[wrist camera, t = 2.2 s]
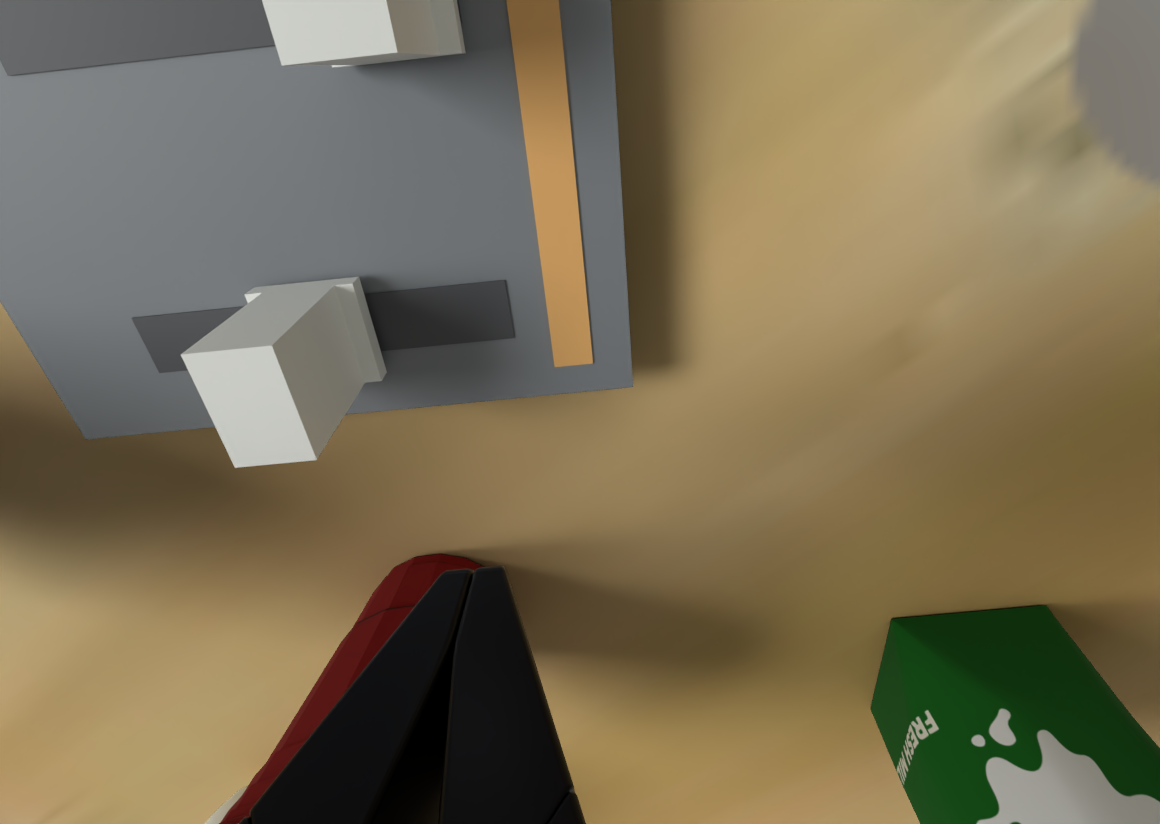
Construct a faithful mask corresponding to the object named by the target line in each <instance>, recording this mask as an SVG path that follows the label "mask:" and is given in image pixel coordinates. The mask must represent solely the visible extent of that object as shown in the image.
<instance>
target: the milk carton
mask: <svg viewBox="0 0 1160 824" xmlns="http://www.w3.org/2000/svg"><path fill="white" fill-rule="evenodd" d="M871 711H872V714H873V716H874V718H875V721H876V723H877V725H878V728H879V730H880V733H881V735H882V737H883V740H884V742H885V745H886V747H887V749H888V752H889V754H890V756H891V759H892V761H893V764H894V766H895V768H896V771H897V773H898V776H899V778H900V780H901V783H902V785H903V787H904V789H905V791H906V794H907V796H908V798H909V800H910V802H911V804H912V807H913V809H914V811H915V813H916V815H917V817H918V819H919V822H920V824H1160V748H1159V747H1158V746H1157V745H1156V743H1155V742H1154V741H1153V740H1152V739H1151V738H1150V736H1149V735H1148V734H1147V733H1146V732H1145V731H1144V729H1143V728H1142V727H1141V726H1140V725H1139V724H1138V723H1137V721H1136V720H1135V719H1134V718H1133V717H1132V715H1131V714H1130V713H1129V712H1128V710H1127V709H1126V708H1125V707H1124V705H1123V704H1122V703H1121V701H1120V700H1119V699H1118V698H1117V696H1116V695H1115V694H1114V692H1113V691H1112V690H1111V689H1110V687H1109V686H1108V685H1107V683H1106V682H1105V681H1104V680H1103V678H1102V677H1101V676H1100V674H1099V673H1098V672H1097V671H1096V669H1095V668H1094V667H1093V665H1092V664H1091V663H1090V662H1089V660H1088V659H1087V658H1086V656H1085V655H1084V654H1083V653H1082V651H1081V650H1080V649H1079V647H1078V646H1077V645H1076V644H1075V642H1074V641H1073V640H1072V638H1071V637H1070V636H1069V635H1068V633H1067V632H1066V631H1065V629H1064V628H1063V627H1062V626H1061V624H1060V623H1059V622H1058V620H1057V619H1056V618H1055V617H1054V615H1053V614H1052V613H1051V611H1050V610H1049V609H1048V608H1047V606H1032V607H1021V608H1010V609H998V610H987V611H976V612H964V613H953V614H942V615H931V616H919V617H908V618H897V619H891V623H890V627H889V632H888V636H887V640H886V644H885V649H884V653H883V657H882V662H881V666H880V670H879V674H878V679H877V683H876V687H875V691H874V696H873V700H872V704H871Z"/></svg>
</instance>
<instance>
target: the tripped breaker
mask: <svg viewBox="0 0 1160 824" xmlns="http://www.w3.org/2000/svg"><path fill="white" fill-rule="evenodd" d="M244 295H245V298H246V300H247V303H248V304H247V305H245V306H244V307H243V308H241V309H240V310H239V311H237V312H236V313H235V314H233V315H232V316H231V317H229V318H228V319H227V320H226V321H224V322H223V323H222V324H220V325H219V326H218V327H216V328H215V329H214V330H212V331H211V332H210V333H208V334H207V335H206V336H204V337H203V338H202V339H200V340H199V341H198V342H196V343H195V344H194V345H193V346H191V347H190V348H189V349H187V350H186V351H185V352H183V353H182V354H181V357H182V359H183V361H184V363H185V365H186V367H187V369H188V371H189V373H190V375H191V377H192V379H193V382H194V384H195V386H196V388H197V390H198V392H199V394H200V396H201V398H202V400H203V402H204V404H205V406H206V409H207V411H208V413H209V415H210V417H211V419H212V421H213V423H214V425H215V427H216V429H217V431H218V434H219V436H220V438H221V440H222V442H223V444H224V446H225V448H226V450H227V452H228V454H229V456H230V458H231V461H232V463H233V465H234V467H235V468H238V467H248V466H259V465H270V464H280V463H291V462H302V461H312V460H317V459H318V457H319V456H320V454H321V452H322V451H323V449H324V448H325V446H326V444H327V443H328V441H329V440H330V438H331V436H332V435H333V433H334V432H335V430H336V428H337V427H338V425H339V424H340V422H341V420H342V419H343V417H344V416H345V414H346V412H347V411H348V409H349V408H350V406H351V404H352V403H353V401H354V400H355V398H356V396H357V395H358V393H359V392H360V390H361V388H362V387H363V385H364V384H365V383H367V382H377V381H382V380H383V378H384V376H385V374H386V373H387V371H386V367H385V364H384V361H383V357H382V354H381V350H380V347H379V343H378V340H377V337H376V333H375V330H374V326H373V323H372V319H371V316H370V313H369V309H368V306H367V302H366V299H365V296H364V292H363V289H362V285H361V282H360V278H359V277H350V278H341V279H331V280H321V281H311V282H302V283H292V284H282V285H272V286H263V287H254V288H253V289H251V290H250V291H248V292H247V293H246V294H244Z"/></svg>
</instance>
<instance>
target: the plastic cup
mask: <svg viewBox="0 0 1160 824" xmlns="http://www.w3.org/2000/svg"><path fill="white" fill-rule="evenodd" d="M481 567H483V566H481V565H479V564H477V563H475V562H473V561H471V560H469V559H467V558H461V557H455V556H449V555H443V554H436V555H428V556H420V557H414V558H412V559H410V560H408V561H406V562H404V563H402V564H400V565H398V566H396V567H394V568H393V570H392V571H391V572H390V573H389V575H388V576H386V577H385V579H384V580H383V581H382V582H381V584H380V585H379V586H378V587H377V589H376V590H375V591H374V592H373V594H372V596H371V597H370V599H369V601H368V603H367V604H366V606H365V608H364V609H363V611H362V613H361V615H360V616H359V618H358V620H357V621H356V623H355V625H354V626H353V628H352V630H351V631H350V632H349V633H348V635H347V636H346V637H345V638H344V639H343V641H342V642H341V643H340V645H339V647H338V648H337V650H336V651H335V653H334V655H333V656H332V658H331V659H330V661H329V663H328V664H327V666H326V668H325V669H324V671H323V672H322V674H321V676H320V677H319V679H318V680H317V682H316V684H315V685H314V687H313V688H312V690H311V692H310V693H309V695H308V696H307V698H306V700H305V701H304V703H303V705H302V706H301V708H300V709H299V711H298V713H297V714H296V716H295V717H294V719H293V721H292V722H291V724H290V725H289V727H288V729H287V730H286V732H285V733H284V735H283V737H282V738H281V740H280V742H279V743H278V745H277V746H276V748H275V750H274V751H273V753H272V754H271V756H270V758H269V759H268V761H267V762H266V764H265V765H264V766H263V767H262V768H261V769H260V771H259V772H258V773H257V774H256V775H255V776H254V778H253V779H252V781H251V782H250V784H249V785H248V787H247V789H246V790H245V792H244V793H243V795H242V796H241V797H240V798H239V799H238V800H237V802H236V803H235V804H234V805H233V806H232V807H231V808H230V809H229V811H228V812H227V813H226V815H225V816H224V818H223V819H222V821H221V822H220V823H219V824H239V823H240V821H241V820H242V819H243V818H244V817H250V810H251V808H252V807H253V806H254V805H255V803H256V802H257V801H258V800H259V798H260V797H261V796H262V795H263V793H264V792H265V791H266V790H267V788H268V787H269V786H270V785H271V783H272V782H273V781H274V780H275V779H276V777H277V776H278V775H279V774H280V772H281V771H282V770H283V769H284V767H285V766H286V765H287V764H288V762H289V761H290V760H291V759H292V758H293V756H294V755H295V754H296V753H297V751H298V750H299V749H300V748H301V746H302V745H303V744H304V743H305V741H306V740H307V739H308V738H309V736H310V735H311V734H312V733H313V732H314V730H315V729H316V728H317V727H318V725H319V724H320V723H321V722H322V720H323V719H324V718H325V717H326V715H327V714H328V713H329V712H330V711H331V709H332V708H333V707H334V706H335V704H336V703H337V702H338V701H339V699H340V698H341V697H342V696H343V694H344V693H345V692H346V691H347V689H348V688H349V687H350V686H351V685H352V683H353V682H354V681H355V680H356V678H357V677H358V676H359V675H360V673H361V672H362V671H363V670H364V668H365V667H366V666H367V665H368V664H369V662H370V661H371V660H372V659H373V657H374V656H375V655H376V654H377V652H378V651H379V650H380V649H381V647H382V646H383V645H384V644H385V642H386V641H387V640H388V639H389V638H390V636H391V635H392V634H393V633H394V631H395V630H396V629H397V628H398V626H399V625H400V624H401V623H402V621H403V620H404V619H405V618H406V616H407V615H408V614H409V613H410V612H411V610H412V609H413V608H414V607H415V605H416V604H417V603H418V602H419V600H420V599H421V598H422V597H423V595H424V594H425V593H426V592H427V591H428V589H429V588H430V587H431V586H432V584H433V583H434V582H435V581H436V579H437V578H438V577H439V576H440V575H441V574H442V573H443V572H445V571H447V570H458V569H472V570H474V571H475V570H476V569H477V568H481Z"/></svg>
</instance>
